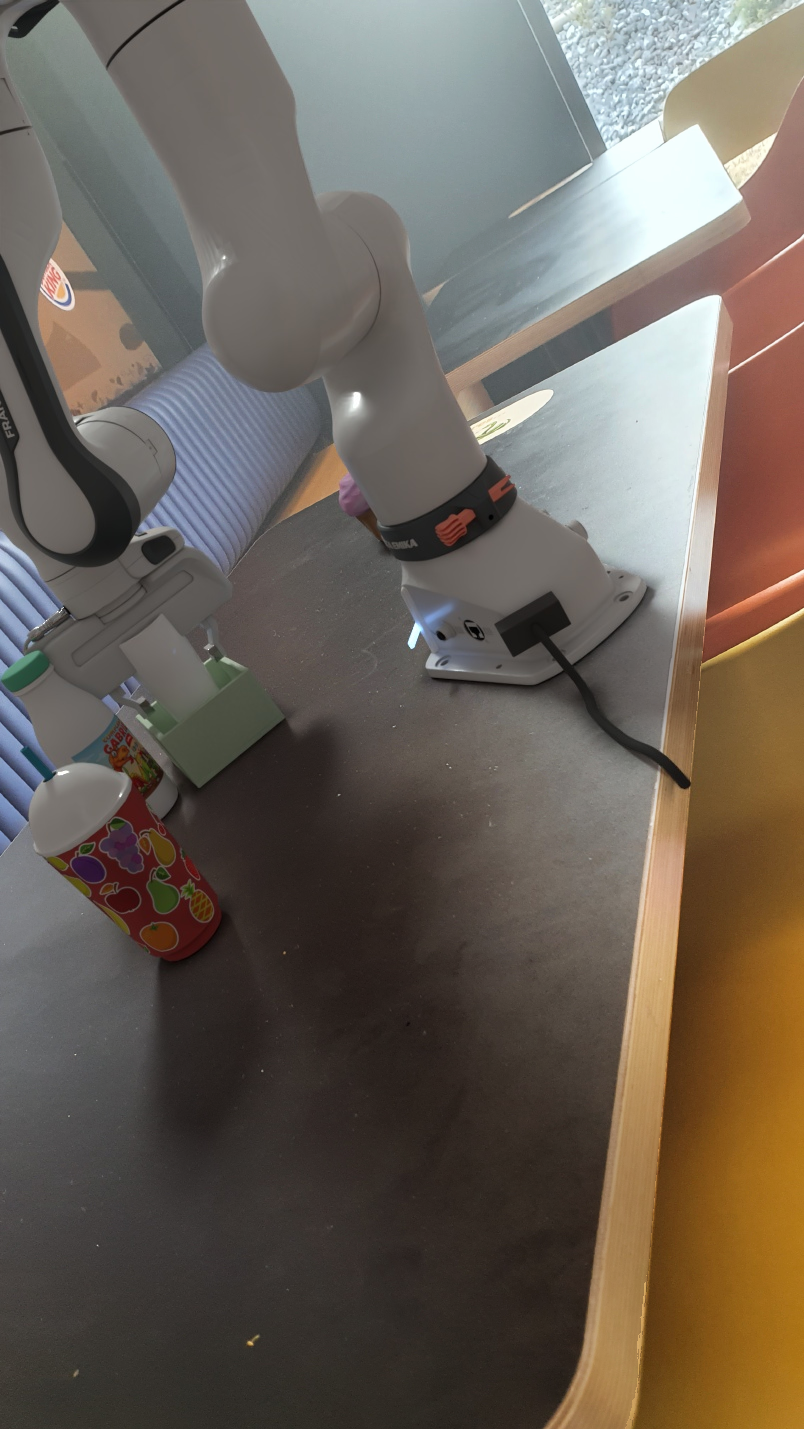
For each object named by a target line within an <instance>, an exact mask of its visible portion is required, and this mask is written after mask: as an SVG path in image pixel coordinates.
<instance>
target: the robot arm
mask: <svg viewBox="0 0 804 1429" xmlns="http://www.w3.org/2000/svg"><path fill="white" fill-rule="evenodd" d="M59 4H61V5H63V7H64V8H66V10H67V11H68V13H70V15H71V16H72V17H73V18H74V20H75V21H76V23H77V24H78V26H79V27H80V29H81V30H82V32H83V33H84V35H85V36H86V38H87V40H88V42H89V43H90V45H91V47H92V48H93V50H94V53H95V54H96V56H97V57H98V58H99V61H100V62H101V64H102V65H103V67H104V69H105V71H106V72H107V74H108V76H109V78H110V79H111V81H112V82H113V84H114V86H115V87H116V89H117V91H118V92H119V94H120V96H121V98H122V99H123V101H124V103H125V104H126V106H127V108H128V109H129V111H130V113H131V114H132V116H133V118H134V119H135V121H136V123H137V125H138V126H139V128H140V130H141V132H142V134H143V136H144V137H145V139H146V141H147V142H148V144H149V145H150V147H151V149H152V151H153V152H154V154H155V156H156V158H157V159H158V161H159V163H160V165H161V166H162V168H163V170H164V172H165V174H166V176H167V178H168V180H169V183H170V185H171V187H172V190H173V191H174V194H175V196H176V199H177V201H178V204H179V206H180V209H181V212H182V214H183V217H184V220H185V222H186V226H187V230H188V232H189V235H190V239H191V242H192V245H193V249H194V252H195V255H196V259H197V262H198V267H199V270H200V275H201V282H202V301H201V302H202V304H201V321H202V322H201V323H202V328H203V331H204V332H203V333H204V336H205V340H206V343H207V344H208V347H209V350H210V351H211V353H212V355H213V356H214V358H215V359H216V361H217V362H218V363H219V365H220V366H221V367H222V368H223V369H224V371H226V373H228V374H229V376H231V377H232V378H233V379H235V380H236V381H237V382H239V383H240V384H242V385H244V386H245V387H248V388H250V389H252V390H254V391H255V390H256V391H259V392H263V393H268V394H269V393H270V394H271V393H272V394H274V393H285V392H288V391H291V390H294V389H297V388H300V387H302V386H306V385H307V384H310V383H311V382H314V381H316V380H318V379H320V378H322V381H323V386H324V389H325V391H326V395H327V398H328V402H329V406H330V411H331V420H332V441H333V444H334V448H335V450H336V453H337V455H338V457H339V458H340V461H341V462H342V463H343V466H344V467H345V468H346V470H347V473H350V475H351V477H352V478H353V480H354V482H355V483H356V485H357V486H358V488H359V490H360V491H361V493H362V495H363V496H364V498H365V500H366V501H367V503H368V505H369V506H370V508H371V509H372V511H373V513H374V514H375V516H376V518H377V519H378V520H377V528H378V530H379V531H380V533H381V536H382V539H383V541H382V542H383V543H384V544H385V546H386V547H387V548H388V549H389V551H390V552H391V554H392V555H393V557H394V558H395V559H396V560H398V561H400V566H401V585H400V596H401V598H402V600H403V601H404V603H405V605H406V607H407V609H408V611H409V613H410V615H411V617H412V618H413V621H414V622H415V623H414V626H413V629H412V631H411V634H410V636H409V639H408V642H407V645H408V646H409V647H410V649H411V650H412V649H414V648H415V646H416V643H417V640H418V637H419V634H421V636H422V637H423V640H424V641H425V643H426V645H427V646H428V648H429V651H430V654H429V656H428V658H427V660H426V662H425V665H424V666H425V669H426V672H427V674H428V676H429V677H430V678H434V679H435V678H438V679H449V680H461V681H471V682H472V681H473V682H483V683H484V682H485V683H496V684H497V683H498V684H508V685H520V686H521V685H523V686H535V685H538V684H540V683H542V682H544V681H547V680H549V679H551V678H552V677H554V676H556V675H558V674H560V673H562V672H565V674H566V675H567V676H568V678H569V679H570V680H571V681H572V682H573V684H574V685H575V686H576V688H577V689H578V691H579V693H580V694H581V696H582V698H583V701H584V703H585V707H586V710H587V712H588V714H589V716H590V717H591V718H592V720H593V721H594V722H595V723H596V724H597V726H599V728H601V730H603V731H604V732H605V733H606V734H607V735H609V736H610V737H611V738H613V739H614V740H615V741H616V742H617V743H619V744H620V745H622V746H623V747H624V748H627V749H629V750H631V751H633V752H636V753H638V754H641V755H643V756H645V757H647V758H649V759H650V760H651V761H653V762H654V763H656V764H657V765H658V766H659V767H660V768H662V770H664V771H665V773H667V774H668V776H669V777H671V779H672V780H673V781H674V782H675V784H676V785H677V786H678V787H679V788H680V789H682V790H687V789H689V788H690V787H691V786H692V782H691V781H690V779H689V778H688V777H687V775H686V774H685V773H684V772H683V770H681V768H679V767H678V765H677V764H676V763H674V761H672V760H671V758H669V757H668V756H667V755H665V754H664V752H662V751H661V750H659V749H657V747H654V746H652V745H650V744H647V743H645V742H642V741H640V740H638V739H636V738H634V737H631V736H629V735H628V734H627V733H625V732H624V731H622V730H621V729H620V728H619V727H617V726H616V725H614V724H613V723H611V721H609V720H608V719H607V718H606V717H605V716H604V715H603V714H602V712H601V711H600V709H599V707H598V705H597V703H596V699H595V697H594V694H593V692H592V690H591V688H590V687H589V685H588V684H587V682H586V681H585V679H583V677H582V676H581V675H580V673H579V672H578V670H577V669H576V668H575V667H574V666H573V665H574V664H575V663H577V662H578V661H580V660H581V659H582V658H583V657H585V656H586V655H587V654H589V653H590V652H591V651H593V650H594V649H595V648H596V647H598V645H600V644H601V643H602V642H603V641H605V640H606V639H607V638H608V637H610V635H611V634H612V633H613V632H614V631H615V630H616V629H618V628H619V627H620V626H621V625H622V624H623V623H624V622H625V621H626V620H627V619H628V617H630V615H631V614H632V613H633V612H634V611H635V610H636V609H637V607H638V606H639V604H640V603H641V601H642V599H643V597H644V596H645V594H646V591H647V588H648V585H647V584H646V582H645V580H644V579H643V578H642V577H641V576H640V575H636V574H634V573H631V572H629V571H626V570H624V569H621V568H618V567H616V566H613V565H610V564H607V563H605V562H602V560H601V559H600V557H599V555H598V554H597V552H596V551H595V549H594V548H593V546H592V545H591V544H590V543H589V542H588V540H589V534H588V531H587V529H586V527H585V526H584V525H583V523H581V522H580V521H579V520H577V519H571V520H570V521H569V522H567V523H566V524H563V523H561V522H560V521H558V520H557V519H555V518H553V517H552V516H551V515H550V513H549V512H548V511H547V510H546V508H538V507H535V505H533V504H531V503H529V502H528V501H527V500H525V499H524V498H522V497H520V496H519V495H518V489H517V487H516V484H515V483H512V481H511V480H510V479H511V477H512V475H510V474H507V473H506V472H505V471H504V469H503V468H502V467H501V466H499V465H498V463H497V462H496V461H495V460H494V459H493V458H492V457H491V456H490V455H487V454H485V452H484V449H483V448H482V446H481V444H480V442H479V441H478V439H477V437H476V434H475V433H474V431H473V430H472V427H471V425H470V424H469V421H468V419H467V418H466V416H465V414H464V412H463V410H462V408H461V406H460V403H459V402H458V400H457V397H456V396H455V395H454V392H453V391H452V389H451V388H452V387H451V386H450V384H449V382H448V378H447V377H446V375H445V372H444V370H443V367H442V364H441V362H440V359H439V356H438V353H437V350H436V347H435V344H434V339H433V337H432V334H431V331H430V330H431V329H430V326H429V324H428V321H427V316H426V314H425V312H424V307H423V304H422V302H421V298H420V295H419V292H418V288H417V285H416V282H415V279H414V275H413V270H412V269H413V268H412V257H411V256H412V254H411V242H410V238H409V234H408V231H407V229H406V225H405V224H404V221H403V220H402V217H400V215H399V213H398V212H397V211H396V210H395V208H394V207H393V206H392V205H391V204H389V203H388V202H387V201H386V200H385V199H383V198H382V197H380V196H379V195H376V194H374V193H372V192H369V191H365V190H359V189H339V190H327V191H324V192H321V193H318V194H316V192H315V190H314V187H313V186H314V185H313V184H312V180H311V177H310V174H309V171H308V168H307V165H306V161H305V158H304V154H303V150H302V147H301V146H302V145H301V142H300V138H299V133H298V126H297V125H298V124H297V114H298V113H297V112H298V109H297V102H296V98H295V94H294V92H293V88H292V87H291V84H290V82H289V80H288V79H287V76H286V75H285V73H284V71H283V69H282V67H281V65H280V63H279V61H278V60H277V58H276V56H275V53H274V52H273V50H272V48H271V46H270V44H269V42H268V41H267V39H266V36H265V34H264V33H263V31H262V29H261V27H260V25H259V23H258V21H257V19H256V17H255V15H254V14H253V12H252V10H251V8H250V6H249V4H248V2H247V0H0V531H1V532H2V533H3V534H4V535H5V537H6V538H7V539H8V540H9V541H10V543H11V544H12V545H13V546H15V547H16V548H17V549H19V550H20V551H21V552H23V553H24V554H25V555H26V556H27V557H28V558H29V560H31V561H32V563H33V564H34V567H35V568H36V571H37V573H38V575H39V577H40V579H41V581H42V582H43V583H44V584H45V585H46V586H47V588H48V589H49V590H50V591H51V592H52V594H53V595H54V596H55V597H56V599H57V600H58V601H59V602H60V603H61V605H62V607H61V608H59V609H58V610H57V611H55V612H54V613H53V614H51V615H50V616H49V617H48V618H47V619H46V620H44V622H43V623H41V624H40V625H38V626H35V627H34V628H32V629H31V630H30V631H29V632H28V633H27V634H26V637H27V639H26V640H25V641H24V643H23V646H22V655H23V657H24V656H26V655H27V654H29V653H31V652H34V651H40V652H42V653H43V654H44V655H45V656H46V657H47V659H48V660H49V662H50V663H51V665H53V666H54V671H55V672H56V673H57V674H58V675H59V676H60V677H61V678H63V679H64V680H66V681H67V682H69V683H70V684H72V685H74V686H76V687H78V688H80V689H82V690H84V691H86V692H88V693H90V694H92V695H94V696H95V697H97V698H98V699H100V700H101V701H103V699H104V698H106V697H107V696H109V697H110V698H111V699H112V701H114V702H115V703H116V704H118V705H119V704H120V705H123V706H126V707H128V708H131V709H134V710H135V712H137V713H138V714H139V715H140V716H141V717H142V718H143V719H144V720H145V719H147V718H148V717H149V716H150V715H151V714H153V713H154V712H155V709H154V708H153V707H152V706H151V703H150V701H149V700H148V699H147V698H146V697H145V696H143V695H141V696H140V697H138V698H136V699H134V698H131V697H128V696H126V693H127V692H126V691H125V689H124V688H123V687H122V685H123V684H124V683H126V682H127V681H128V680H129V679H131V678H133V675H134V674H135V673H136V672H137V671H136V669H135V667H134V666H133V665H132V663H131V662H130V661H129V660H128V658H127V657H126V655H125V654H124V653H123V651H122V650H121V649H120V647H119V645H120V644H122V643H124V642H126V641H128V640H129V639H131V638H133V637H134V636H136V635H137V634H139V633H140V632H141V631H143V630H144V629H145V628H147V627H148V626H149V625H150V624H151V623H152V622H153V621H154V620H155V619H156V618H157V617H158V616H159V614H161V613H162V614H163V615H164V616H165V617H166V618H167V620H168V621H169V622H170V623H171V624H172V626H173V627H174V628H175V629H176V631H177V632H178V633H179V634H180V635H181V636H182V637H183V636H184V635H185V636H186V635H187V634H188V633H190V632H191V631H193V630H194V629H195V628H196V627H197V626H199V627H200V628H202V629H204V630H205V631H206V635H207V641H208V643H207V644H206V645H205V646H203V648H202V649H203V650H204V651H205V653H206V654H208V657H209V658H211V659H212V660H213V661H214V662H216V663H217V662H218V661H220V660H221V659H222V658H224V657H227V655H228V652H227V651H226V650H225V648H224V647H223V646H222V644H221V642H220V634H219V623H218V622H217V620H216V619H215V617H214V616H213V614H214V613H216V612H217V611H218V610H219V609H221V608H222V607H223V606H224V605H226V604H227V603H228V602H230V601H231V600H232V599H233V596H234V586H233V584H232V582H231V581H230V579H229V578H228V577H227V575H226V574H225V573H224V571H223V570H221V569H220V567H218V565H217V564H216V563H215V562H214V561H213V560H212V559H211V558H210V557H209V556H208V555H207V554H206V553H205V552H204V551H203V550H201V549H199V548H196V547H194V546H190V545H186V542H185V538H184V537H183V535H182V533H181V532H180V531H179V530H178V529H177V528H175V527H172V526H168V525H167V526H166V525H164V526H163V525H161V526H156V527H153V528H150V529H146V530H143V531H140V532H139V531H138V530H139V528H140V526H141V525H142V524H143V522H145V520H146V519H147V518H148V517H149V516H150V515H151V513H152V512H153V511H154V510H155V508H156V507H157V505H158V504H159V502H160V501H161V500H163V498H164V496H165V495H166V493H167V492H168V491H169V489H170V487H171V485H172V482H173V481H174V478H175V476H176V473H177V456H176V451H175V447H174V445H173V442H172V440H171V439H170V437H169V435H168V433H167V432H166V431H165V429H164V428H163V427H162V426H161V425H160V424H159V423H158V422H157V421H156V419H154V418H153V417H151V416H150V415H148V414H147V413H145V412H144V411H141V410H139V409H137V408H134V407H131V406H126V405H115V406H110V407H106V408H104V409H103V408H102V409H100V410H96V411H92V412H89V413H84V414H80V415H74V416H73V415H72V413H71V410H70V406H69V405H68V402H67V399H66V396H65V394H64V392H63V390H62V387H61V384H60V381H59V379H58V376H57V374H56V371H55V368H54V366H53V364H52V361H51V359H50V355H49V353H48V351H47V349H46V346H45V343H44V341H43V340H44V339H43V337H42V332H41V328H40V323H39V322H40V321H39V310H38V309H39V297H40V290H41V286H42V283H43V279H44V275H45V272H46V270H47V267H48V265H49V263H50V261H51V259H52V257H53V254H54V253H55V251H56V250H57V246H58V243H59V240H60V237H61V233H62V227H63V219H64V218H63V210H62V206H61V202H60V198H59V193H58V189H57V186H56V185H57V184H56V182H55V179H54V178H55V177H54V175H53V172H52V169H51V166H50V162H49V161H48V158H47V156H46V154H45V151H44V149H43V147H42V144H41V142H40V140H39V138H38V135H37V133H36V131H35V129H34V128H33V124H32V122H31V120H30V118H29V116H28V113H27V111H26V109H25V107H24V104H23V102H22V100H21V98H20V95H19V93H18V91H17V88H16V86H15V83H14V81H13V78H12V76H11V72H10V69H9V68H10V67H9V64H8V61H7V60H8V59H7V52H6V51H7V42H8V38H11V39H23V38H25V37H27V36H28V35H29V34H30V32H32V31H33V29H34V28H35V27H36V26H37V25H38V24H39V23H40V22H41V21H42V20H43V19H44V17H46V16H47V15H48V14H49V13H50V12H51V11H52V10H53V9H54V8H55V7H57V6H59ZM31 642H32V643H31ZM30 643H31V644H30ZM48 667H49V666H48ZM48 667H47V668H48Z"/></svg>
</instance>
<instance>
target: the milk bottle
mask: <svg viewBox="0 0 804 1429" xmlns="http://www.w3.org/2000/svg"><path fill="white" fill-rule="evenodd" d="M48 666H49V667H48ZM47 667H48V668H47ZM0 682H1V684H2V685H3V686H4V687H5V688H6V690H7V691H9V692H10V693H11V694H12V695H13V697H14V698H18V699H19V700H20V701H21V702H22V704H23V706H24V708H25V710H26V712H27V714H28V715H29V719H30V722H31V725H32V728H33V732H34V736H35V738H36V740H37V743H38V745H39V747H40V749H41V750H42V752H43V753H44V755H45V756H46V757H47V759H48V760H49V761H50V763H51V764H52V765H53V766H54V767H55V769H59V768H61V767H63V766H66V765H70V764H73V763H81V762H83V763H94V764H99V765H103V766H106V767H108V768H110V769H113V770H115V771H116V772H123V773H126V774H127V775H128V776H129V778H130V779H131V781H132V784H133V785H134V786H135V787H136V788H137V789H138V791H139V792H140V793H141V795H142V796H143V797H144V799H145V800H146V801H147V803H148V804H149V805H150V807H151V808H152V809H153V811H154V812H155V813H156V815H157V816H158V817H159V819H160V820H161V821H162V819H163V818H164V817H165V816H166V815H167V814H168V813H169V812H170V810H171V809H172V808H173V806H174V805H175V803H176V801H177V799H178V797H179V796H178V795H179V791H178V787H177V785H176V784H175V783H174V781H173V780H172V779H171V777H170V776H169V775H168V774H167V773H166V771H165V770H164V769H163V768H162V767H161V765H160V764H159V763H158V762H157V760H156V759H155V758H154V757H153V756H152V755H151V754H150V752H149V751H148V750H147V749H146V748H145V746H144V745H143V744H142V743H141V742H140V741H139V740H138V738H137V737H136V736H135V734H133V732H132V731H131V730H130V728H128V727H127V726H126V724H125V723H124V722H123V721H122V720H121V718H120V717H118V715H117V714H116V713H115V712H114V711H113V709H111V707H109V705H107V704H106V703H105V702H104V701H103V700H100V699H98V698H97V697H95V696H94V695H92V694H90V693H88V692H86V691H84V690H82V689H80V688H78V687H76V686H74V685H72V684H70V683H69V682H67V681H66V680H64V679H63V678H61V677H60V676H59V675H58V674H57V673H56V672H55V671H54V666H53V665H51V663H50V662H49V660H48V659H47V657H46V656H45V655H44V654H43V653H42V652H40V651H34V652H31V653H29V654H27V655H26V656H24V655H23V656H22V657H21V658H20V659H18V660H17V661H16V662H14V663H13V664H11V665H10V666H9V667H7V669H6V670H5V671H4V672H3V674H2V675H1V676H0Z"/></svg>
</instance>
